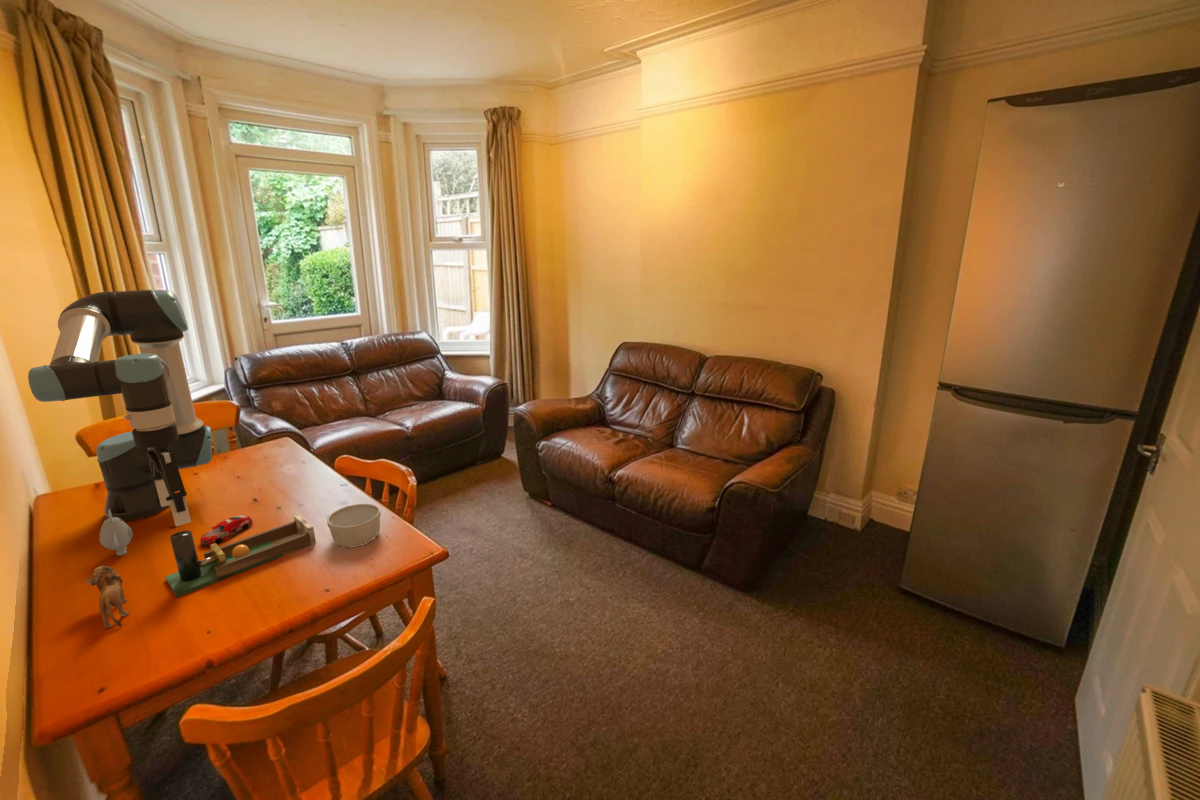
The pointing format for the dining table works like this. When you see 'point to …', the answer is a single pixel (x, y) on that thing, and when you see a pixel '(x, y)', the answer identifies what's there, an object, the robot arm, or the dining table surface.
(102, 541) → the toy figure
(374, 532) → the ramekin
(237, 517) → the race car
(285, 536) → the lane
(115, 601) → the lion figurine
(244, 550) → the ball
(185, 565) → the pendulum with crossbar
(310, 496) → the dining table surface
